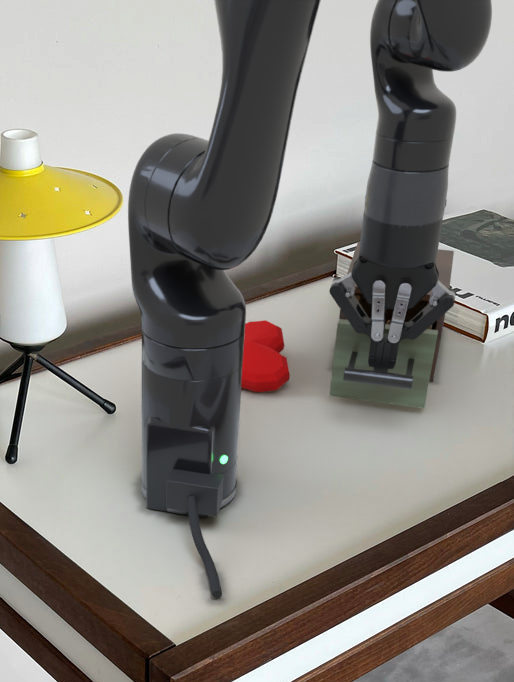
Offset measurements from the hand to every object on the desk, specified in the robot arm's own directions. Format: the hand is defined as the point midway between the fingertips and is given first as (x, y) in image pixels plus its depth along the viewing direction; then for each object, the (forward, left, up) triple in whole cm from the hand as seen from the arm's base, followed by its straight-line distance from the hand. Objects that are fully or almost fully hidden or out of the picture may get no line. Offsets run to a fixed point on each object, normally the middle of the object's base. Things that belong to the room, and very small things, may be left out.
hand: (381, 369), depth 108 cm
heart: (+7, +16, -6) cm, 19 cm away
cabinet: (+18, 0, -6) cm, 19 cm away
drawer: (+6, 0, -5) cm, 8 cm away
